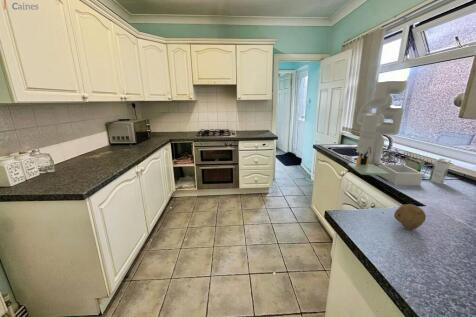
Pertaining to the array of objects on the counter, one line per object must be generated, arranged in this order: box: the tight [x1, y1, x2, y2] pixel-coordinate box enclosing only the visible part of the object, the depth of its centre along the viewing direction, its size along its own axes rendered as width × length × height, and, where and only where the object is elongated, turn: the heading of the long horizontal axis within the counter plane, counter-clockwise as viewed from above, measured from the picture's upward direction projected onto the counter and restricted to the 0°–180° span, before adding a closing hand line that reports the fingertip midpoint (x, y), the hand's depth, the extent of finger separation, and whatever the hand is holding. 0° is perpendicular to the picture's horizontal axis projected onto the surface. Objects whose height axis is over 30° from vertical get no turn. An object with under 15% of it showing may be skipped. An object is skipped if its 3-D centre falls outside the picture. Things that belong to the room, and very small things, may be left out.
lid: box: [347, 155, 389, 176], centre depth 125 cm, size 17×15×7 cm
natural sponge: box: [394, 203, 427, 230], centre depth 81 cm, size 9×9×10 cm
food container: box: [404, 156, 426, 172], centre depth 137 cm, size 12×6×10 cm, turn 179°
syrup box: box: [428, 157, 452, 185], centre depth 122 cm, size 6×6×14 cm
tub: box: [379, 163, 424, 186], centre depth 126 cm, size 16×14×8 cm
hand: (362, 163), depth 132 cm, fingers closed on lid
